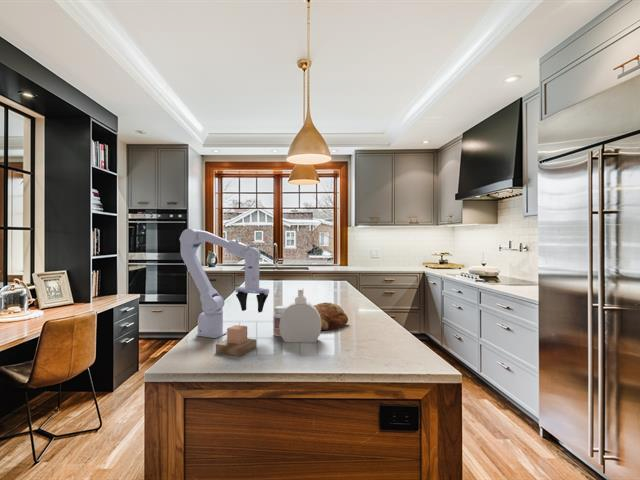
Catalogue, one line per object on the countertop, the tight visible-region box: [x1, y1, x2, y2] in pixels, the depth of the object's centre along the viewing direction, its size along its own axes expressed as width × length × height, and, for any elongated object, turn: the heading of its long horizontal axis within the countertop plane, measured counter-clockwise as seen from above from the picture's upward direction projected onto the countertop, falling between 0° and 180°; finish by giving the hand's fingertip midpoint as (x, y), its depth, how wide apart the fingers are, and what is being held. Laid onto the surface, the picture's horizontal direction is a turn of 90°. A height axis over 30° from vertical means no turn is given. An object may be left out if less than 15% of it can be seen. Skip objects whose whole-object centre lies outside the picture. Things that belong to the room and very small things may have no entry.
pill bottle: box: [273, 305, 287, 337], centre depth 150 cm, size 6×6×11 cm
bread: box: [313, 302, 349, 331], centre depth 165 cm, size 20×18×10 cm
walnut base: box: [215, 337, 257, 357], centre depth 130 cm, size 10×10×3 cm
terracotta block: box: [226, 324, 248, 344], centre depth 130 cm, size 5×5×5 cm
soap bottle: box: [279, 288, 322, 344], centre depth 141 cm, size 16×5×20 cm, turn 89°
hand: (252, 311), depth 148 cm, fingers open, 7 cm apart
